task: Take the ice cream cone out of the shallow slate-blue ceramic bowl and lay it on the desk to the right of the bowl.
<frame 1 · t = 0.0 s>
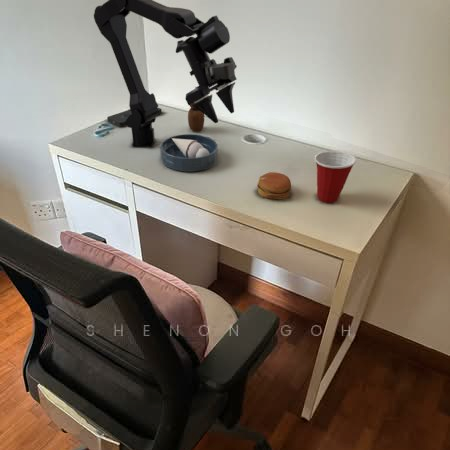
hand: (225, 117, 120), 15 cm above the table, tool tilted 35°, fingers open, 9 cm apart
wooden figurine: (196, 130, 151), on the table
bowl: (189, 159, 133), on the table
smart home device: (135, 117, 157), on the table
plastic cup: (326, 198, 118), on the table
ice cream cone: (189, 158, 133), resting on bowl
burger: (273, 192, 120), on the table
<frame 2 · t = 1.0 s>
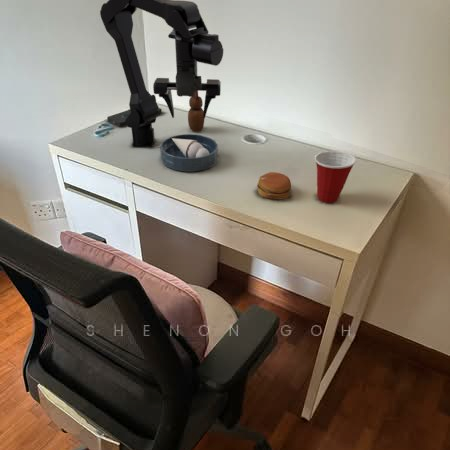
hand: (188, 117, 124), 13 cm above the table, tool pointing down, fingers open, 9 cm apart
nothing on the table moved.
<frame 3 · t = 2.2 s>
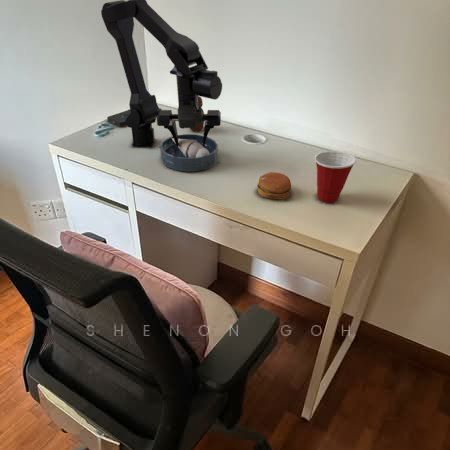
hand: (190, 146, 130), 4 cm above the table, tool pointing down, fingers closed on ice cream cone, 8 cm apart
ice cream cone: (189, 158, 133), resting on bowl, touching gripper
everything else where it was.
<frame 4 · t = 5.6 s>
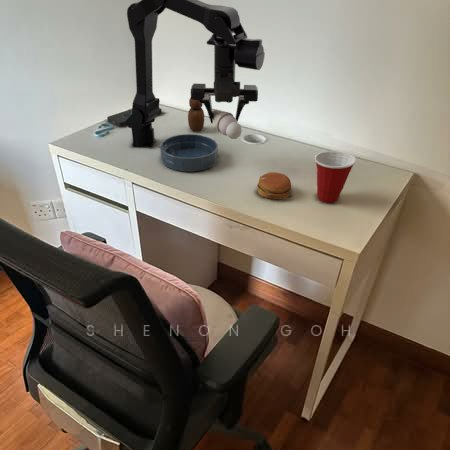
hand: (223, 123, 124), 12 cm above the table, tool pointing down, fingers closed on ice cream cone, 7 cm apart
ice cream cone: (222, 132, 125), point 10 cm above the table, touching gripper
everything else where it was.
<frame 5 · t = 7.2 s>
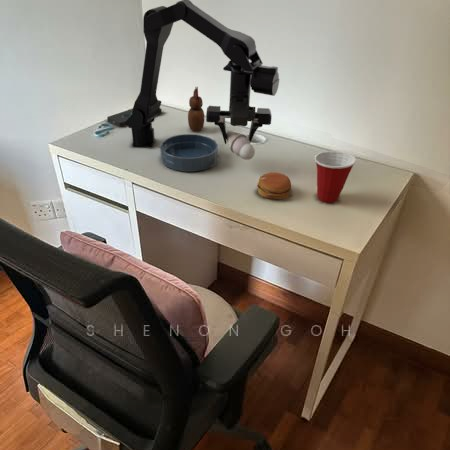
hand: (237, 144, 127), 6 cm above the table, tool pointing down, fingers closed on ice cream cone, 7 cm apart
ice cream cone: (235, 152, 128), point 4 cm above the table, touching gripper
everything else where it was.
when the fingers open (3 cm above the table, at t = 8.6 s): ice cream cone stays where it is, on the table.
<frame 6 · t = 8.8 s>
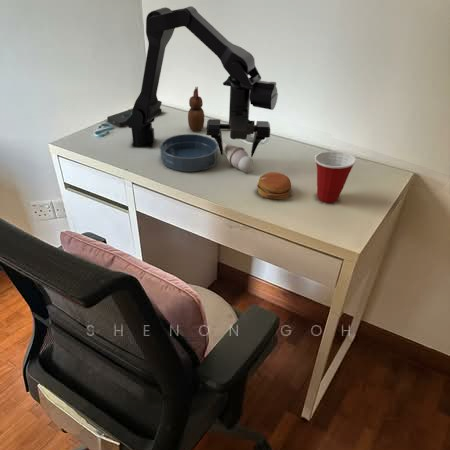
hand: (236, 155, 130), 3 cm above the table, tool pointing down, fingers open, 9 cm apart
ice cream cone: (234, 165, 131), on the table
everything else where it was.
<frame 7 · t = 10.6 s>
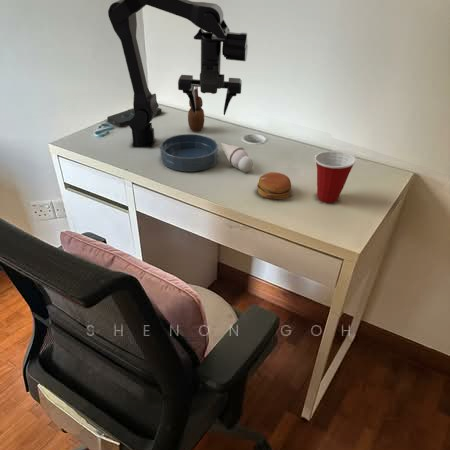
hand: (209, 113, 131), 12 cm above the table, tool pointing down, fingers open, 9 cm apart
nothing on the table moved.
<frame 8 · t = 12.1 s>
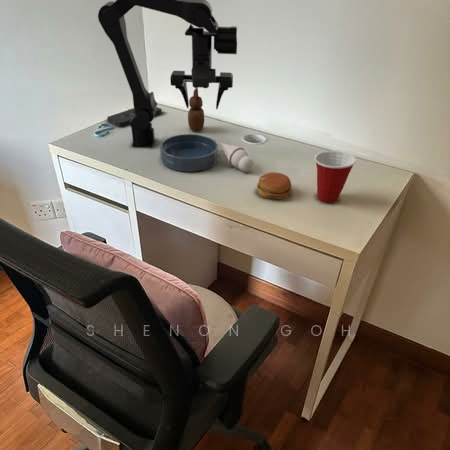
hand: (202, 108, 133), 12 cm above the table, tool pointing down, fingers open, 9 cm apart
nothing on the table moved.
at the end: ice cream cone inside the target area (1.0 cm from its centre), on the table; ice cream cone touching table; the gripper is holding nothing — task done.
